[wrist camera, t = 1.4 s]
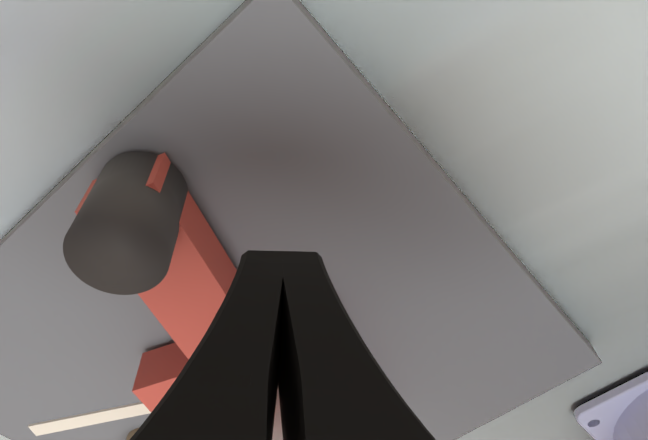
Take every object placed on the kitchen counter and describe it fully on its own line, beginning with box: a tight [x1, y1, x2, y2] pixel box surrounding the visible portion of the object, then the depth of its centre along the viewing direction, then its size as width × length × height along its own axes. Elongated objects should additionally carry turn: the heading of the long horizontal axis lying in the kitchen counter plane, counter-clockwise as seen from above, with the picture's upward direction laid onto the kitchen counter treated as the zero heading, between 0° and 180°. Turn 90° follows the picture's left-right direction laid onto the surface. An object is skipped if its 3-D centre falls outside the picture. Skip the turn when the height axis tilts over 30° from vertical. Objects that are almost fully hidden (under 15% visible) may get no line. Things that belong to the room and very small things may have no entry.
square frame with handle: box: [63, 151, 237, 412], centre depth 17 cm, size 14×7×3 cm, turn 21°
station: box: [0, 0, 602, 440], centre depth 18 cm, size 18×19×7 cm
